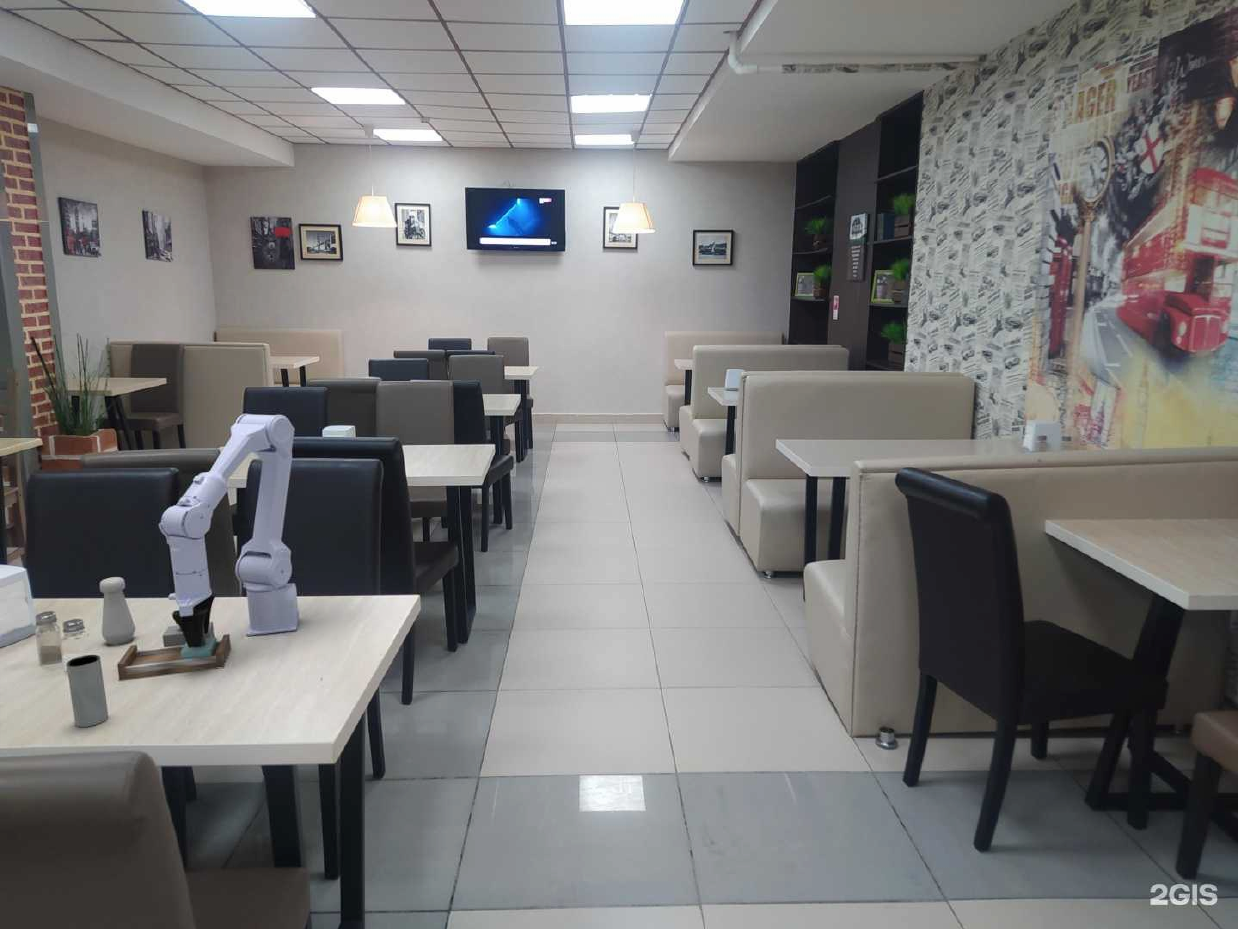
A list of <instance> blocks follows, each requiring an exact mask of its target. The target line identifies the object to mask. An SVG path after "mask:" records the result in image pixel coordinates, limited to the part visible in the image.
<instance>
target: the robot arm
mask: <svg viewBox="0 0 1238 929" xmlns="http://www.w3.org/2000/svg"><path fill="white" fill-rule="evenodd" d="M230 434H231V436H230V438H228V441H227V443H226V444H225V446H224V448H223V449H222V451H221V452H220V454H219V455H218V457H217V458H216V461H215V462H214V464H213V465H212V467H211V469H210V470H209V471H207V472H200V473H199V474H198V475H196V476H194V478H193V480H192V481H193V482H192V483H191V485H190V486H189V487H188V488H187V490H186V492H184V494H183V495H182V496H181V497H180V498H179V500H178V502H177V503H176V505H172V506H169V507H168V508H167V509H166V510H165V511H164V512H163V514H162V515H161V519H160V523H158V527H159V530H160V532H161V533H162V535H164V536H165V538H166V544H167V545H168V546H169V552H170V560H171V568H172V569H171V570H172V576H173V584H174V592H173V593H170V594H169V595H168V600H169V601H175V602H176V603H177V605H178V610H174V611H172V614H171V616H172V617H171V618H172V619H173V620H174V621H175V624H176V623H177V624H178V625H179V627H180V628H181V630H182V632H183V635H184V637H185V640H186V642H187V645H188V647H189V648H191V647H199V646H201V645H202V640H203V625H204V633H205V634H207V633H208V630H209V622H211V621H210V619H211V612H212V608H213V607H212V606H213V603H214V600H215V599H216V593H215V592H213V591H212V589H211V584H210V576H209V568H208V559H207V558H208V557H207V550H206V541H205V535H206V533H208V532H209V530H210V528H211V522H212V521H211V520H212V517H213V515H214V510H215V509H216V508H217V506H218V504H219V503H220V501H221V500H222V499H223V497H224V496H225V495H226V493H227V492H228V490H229V488H228V482H227V481H228V480H229V479H230V477H231V476H233V474H234V472H235V471H236V470H237V469H238V468H239V467H240V466H241V464H242V463H243V462H244V461H245V460H246V459H247V457H248V456H249V455H250V454H251V453H252V454H255V455H256V456H257V457H258V459H260V461H261V462H262V466H261V473H260V474H261V475H260V480H259V481H260V482H259V486H258V487H259V489H258V496H257V503H256V512H255V518H254V524H253V532H252V533H253V534H252V538H251V539H249V540H248V541H247V542H246V543H245V544H244V545H242V547H241V552H240V555H239V556H238V560H237V561H236V563H235V567H234V568H235V570H234V571H235V576H236V578H237V580H238V581H239V582H241V583H242V585H243V588H244V589H245V590H246V599H247V607H248V608H247V609H248V616H249V617H248V618H249V625H248V628H247V630H246V633H245V635H246V636H248V637H250V636H256V635H258V636H259V635H266V634H267V635H268V634H275V633H282V632H283V633H284V632H293V631H297V629H298V628H297V627H298V624H299V620H300V610H299V604H298V596H297V594H298V592H297V586H296V583H288V582H289V580H290V578H291V577H292V573H293V572H292V571H293V567H292V566H293V565H292V561H291V555H292V551H291V549H290V548H289V547H288V546H287V545H286V544H285V543H284V542H283V541H282V537H283V529H284V521H285V514H286V506H287V500H288V498H287V497H288V493H289V492H288V490H289V483H290V477H291V470H292V469H291V468H292V461H293V451H292V450H293V446H294V445H293V444H294V436H295V427H294V425H293V424H292V423H291V421H290V420H289V418H288V417H287V416H285V415H283V414H275V415H274V414H273V415H271V414H270V415H269V414H251V413H243V414H241V415H239V416H238V417H237V419H236V420H235V422H234V424H233V425H232V426H231V427H230ZM262 553H264V554H262ZM265 553H267V554H265ZM177 624H176V625H177Z"/></svg>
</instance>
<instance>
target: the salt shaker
mask: <svg viewBox="0 0 1238 929" xmlns="http://www.w3.org/2000/svg"><path fill="white" fill-rule="evenodd" d="M124 589H126V583H125V580H124V578H123V577H119V576H114V577H113V576H112V577H108V578H105V579H103V580H101V581H100V582H99V592H101V593H102V594H103V606H102V609H103V610H102V623H101V635H102V637H103V639H104V640H105V642H106V643H107V645H110V646H111V645H112V646H119V645H125V644H127V643H128V642H130V641H132V640H133V637H134V635H135V632H136V625H135V623H134V619H133V616H132V614H131V612H130V608H129V606H128V603H127V600H126V598H125V594H124V592H123V590H124Z"/></svg>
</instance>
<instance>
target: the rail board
mask: <svg viewBox="0 0 1238 929" xmlns="http://www.w3.org/2000/svg"><path fill="white" fill-rule="evenodd" d="M216 642H217V649H216V651H215V653H214V655H213V656H209V657H201V658H193V659H184V660H181V654H180V653H181V651H182V649H183V647H184V645H179V646H170V647H164V646H163V647H155V648H145V649H138V646H137V645H138V644H132V645H130V646H129V647H128V649H127V650H126V652H125V653H124V654H123V656H122V657H121V658H120V660H119V662H117V664H116V666H117V672H118V674H117V675H118V679H119V680H118V681H124V680H133V679H141V678H149V677H150V678H151V677H157V676H165V675H173V674H182V673H188V672H189V673H190V672H195V671H196V670H198V671H204V670H203V669H206V670H212V669H211V668H214V669H220V668H219V667H222V668H224V666H225V664H226V662H227V660H228V657H229V654H230V652H231V650H232V645H231V637H230V633H228V634H226V633H225V634H223V636H222V637H221V640H216ZM227 656H228V657H227ZM226 659H227V660H226ZM224 663H225V664H224ZM217 667H218V668H217ZM201 669H202V670H201Z"/></svg>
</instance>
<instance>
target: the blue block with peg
mask: <svg viewBox="0 0 1238 929" xmlns="http://www.w3.org/2000/svg"><path fill="white" fill-rule="evenodd" d="M216 641H217V637H215V638H206V639H205V633H204V625H203V640H202V645H201V646H199V647H191V648H189V647H188V645H187V642H186V644H185V645H184V647H183V649H182V651H181V653H180V654H181V660H184V659H193V658H201V657H209V656H213V655H214V653H215V651H216V649H217V642H216Z"/></svg>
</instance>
